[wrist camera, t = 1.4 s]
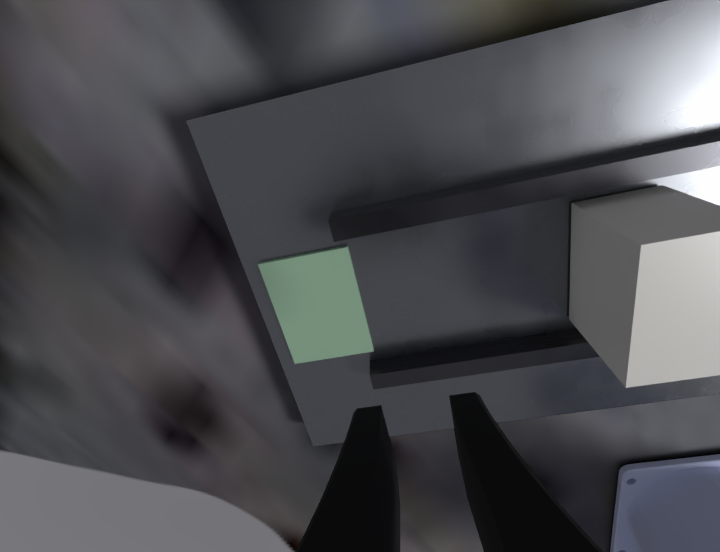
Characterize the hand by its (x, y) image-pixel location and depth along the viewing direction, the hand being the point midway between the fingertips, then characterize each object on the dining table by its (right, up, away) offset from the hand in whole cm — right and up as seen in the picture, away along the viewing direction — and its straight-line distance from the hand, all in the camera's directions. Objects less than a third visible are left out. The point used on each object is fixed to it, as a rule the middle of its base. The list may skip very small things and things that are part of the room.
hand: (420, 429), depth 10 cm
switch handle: (+8, +4, +5) cm, 11 cm away
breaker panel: (+8, +5, +6) cm, 12 cm away
